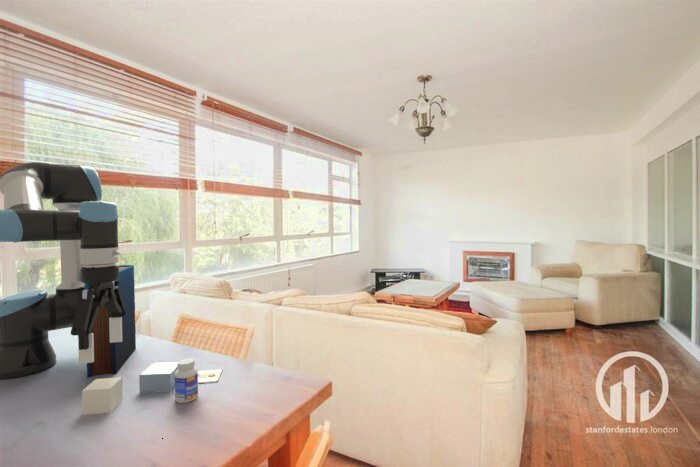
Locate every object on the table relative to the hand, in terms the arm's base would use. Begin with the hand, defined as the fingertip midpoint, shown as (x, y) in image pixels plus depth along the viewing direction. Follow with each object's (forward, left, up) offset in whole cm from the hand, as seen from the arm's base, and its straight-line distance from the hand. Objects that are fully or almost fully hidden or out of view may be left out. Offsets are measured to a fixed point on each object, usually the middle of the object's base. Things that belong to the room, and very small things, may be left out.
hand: (102, 351), depth 85 cm
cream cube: (0, 0, -14) cm, 14 cm away
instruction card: (+20, +13, -14) cm, 28 cm away
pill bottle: (+19, +1, -14) cm, 24 cm away
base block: (+10, +10, -14) cm, 20 cm away
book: (-12, +31, -14) cm, 36 cm away
